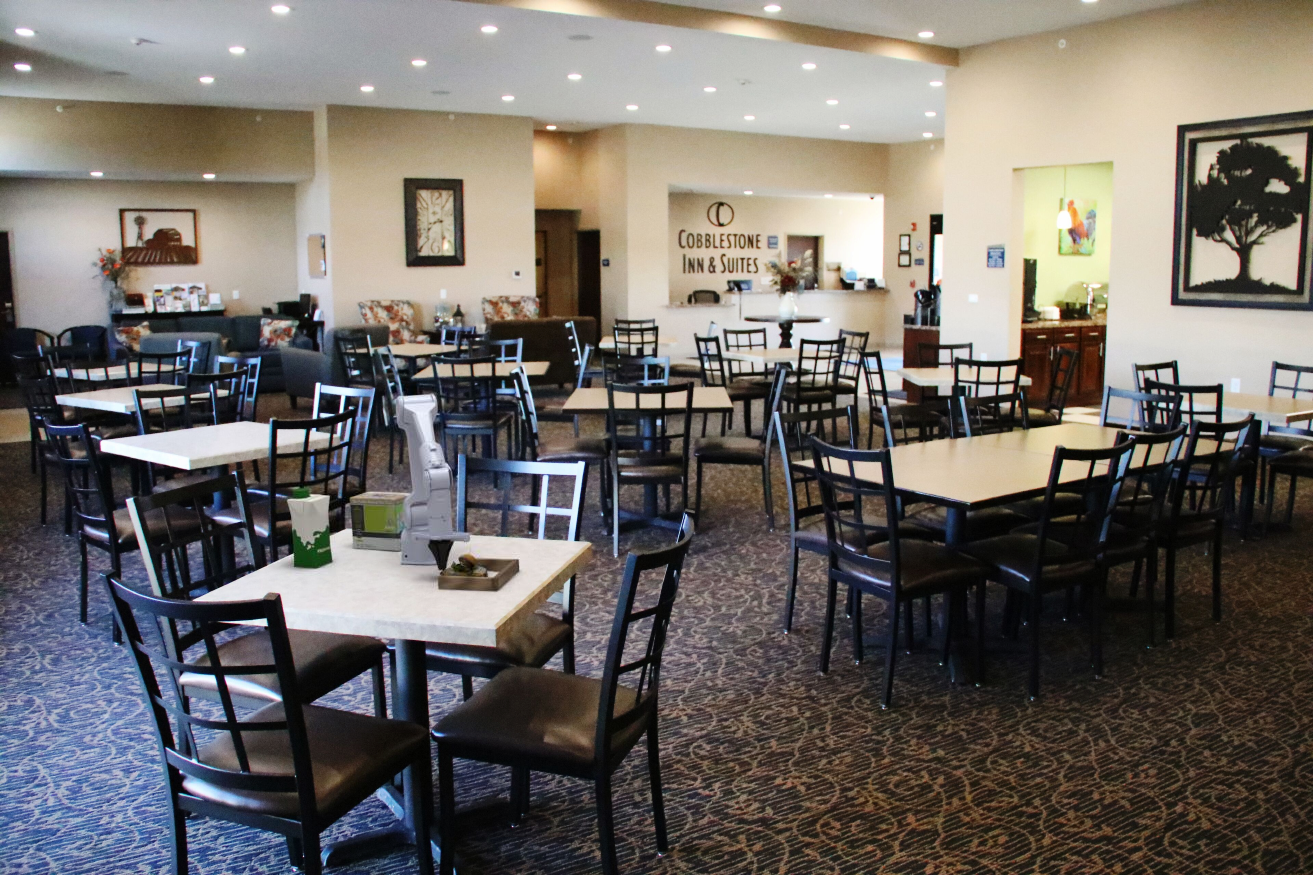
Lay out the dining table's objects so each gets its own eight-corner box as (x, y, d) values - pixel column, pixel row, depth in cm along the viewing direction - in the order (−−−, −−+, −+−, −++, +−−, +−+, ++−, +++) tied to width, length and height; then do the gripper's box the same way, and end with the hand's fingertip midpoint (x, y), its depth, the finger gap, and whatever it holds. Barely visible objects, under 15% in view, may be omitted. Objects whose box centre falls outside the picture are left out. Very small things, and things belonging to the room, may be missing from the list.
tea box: (418, 543, 293) (415, 492, 290) (398, 552, 283) (395, 499, 281) (372, 540, 298) (369, 489, 295) (351, 548, 288) (348, 496, 286)
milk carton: (309, 558, 279) (304, 485, 275) (338, 560, 276) (333, 487, 273) (288, 567, 270) (282, 492, 267) (317, 569, 267) (312, 494, 264)
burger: (433, 576, 260) (431, 547, 259) (477, 569, 266) (476, 540, 265) (450, 588, 250) (448, 558, 249) (495, 580, 256) (494, 550, 255)
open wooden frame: (438, 589, 248) (437, 576, 248) (464, 568, 265) (463, 557, 265) (497, 591, 246) (496, 578, 245) (519, 570, 263) (518, 559, 262)
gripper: (405, 518, 252) (408, 572, 254) (461, 520, 250) (464, 574, 252) (416, 512, 259) (419, 564, 261) (471, 513, 256) (474, 566, 259)
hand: (442, 569), depth 257 cm, fingers closed
